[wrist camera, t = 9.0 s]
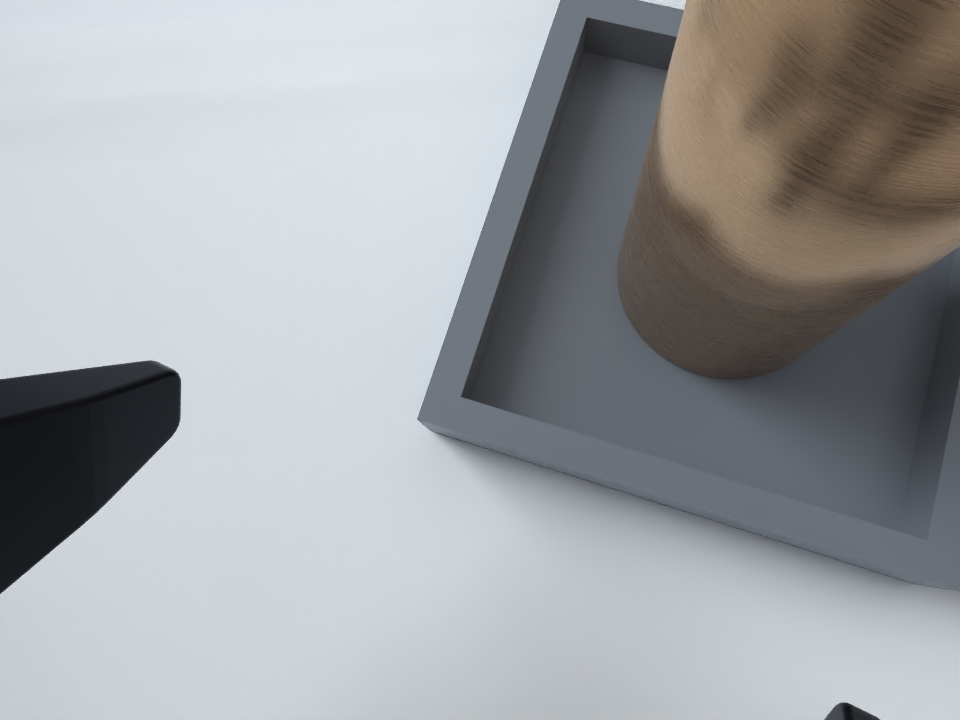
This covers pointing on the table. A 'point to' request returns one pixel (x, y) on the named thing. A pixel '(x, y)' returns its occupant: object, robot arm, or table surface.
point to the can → (791, 176)
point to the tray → (666, 387)
